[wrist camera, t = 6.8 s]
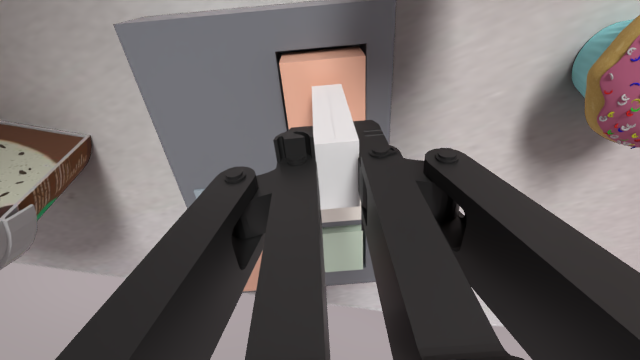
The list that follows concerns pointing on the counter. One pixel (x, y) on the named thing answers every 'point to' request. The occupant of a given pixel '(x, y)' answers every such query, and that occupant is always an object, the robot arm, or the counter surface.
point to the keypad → (248, 85)
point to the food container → (33, 179)
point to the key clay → (322, 80)
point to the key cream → (341, 214)
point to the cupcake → (612, 82)
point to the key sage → (343, 248)
